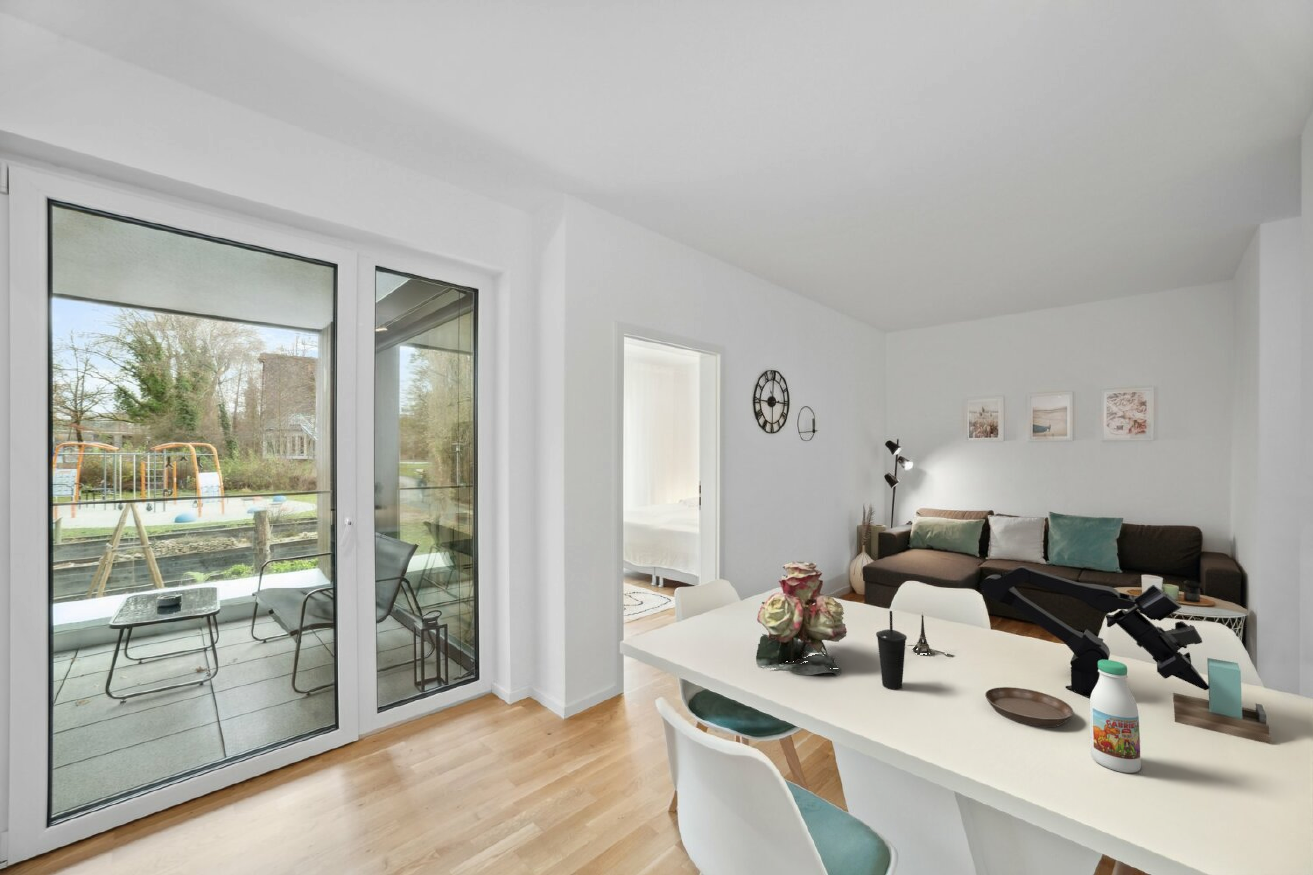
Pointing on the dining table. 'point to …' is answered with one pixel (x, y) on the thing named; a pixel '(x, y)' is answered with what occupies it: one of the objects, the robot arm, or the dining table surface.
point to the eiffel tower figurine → (924, 644)
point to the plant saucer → (1029, 706)
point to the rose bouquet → (800, 623)
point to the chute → (1222, 719)
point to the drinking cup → (891, 656)
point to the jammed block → (1224, 688)
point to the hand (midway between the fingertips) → (1207, 688)
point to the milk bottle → (1114, 720)
